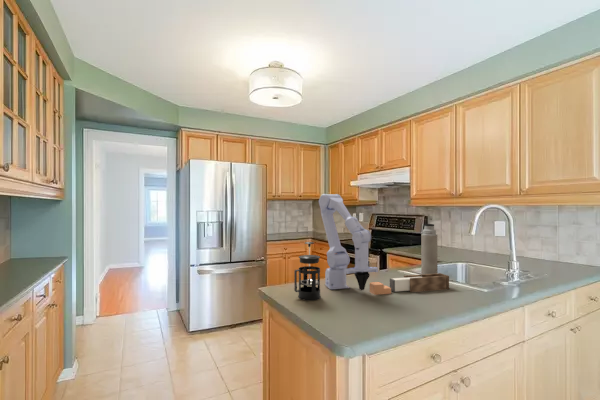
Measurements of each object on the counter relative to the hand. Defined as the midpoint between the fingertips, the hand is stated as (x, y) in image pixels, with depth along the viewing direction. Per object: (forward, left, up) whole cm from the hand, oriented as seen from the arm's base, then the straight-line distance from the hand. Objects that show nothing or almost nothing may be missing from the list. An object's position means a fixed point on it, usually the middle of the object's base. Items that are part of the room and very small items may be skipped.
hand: (361, 289), depth 132 cm
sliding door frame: (+32, 0, -2) cm, 32 cm away
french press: (-24, +1, -2) cm, 24 cm away
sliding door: (+22, 0, -1) cm, 22 cm away
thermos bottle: (+49, +21, -2) cm, 54 cm away
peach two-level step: (+9, 0, -2) cm, 9 cm away
